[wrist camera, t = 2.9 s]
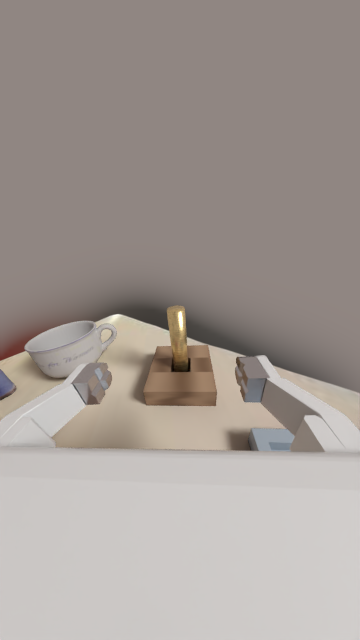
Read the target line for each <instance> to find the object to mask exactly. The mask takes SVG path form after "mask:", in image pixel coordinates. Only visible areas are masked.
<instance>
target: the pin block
mask: <svg viewBox="0 0 360 640" xmlns="http://www.w3.org/2000/svg"><path fill="white" fill-rule="evenodd" d="M187 354H188V370H191V372H174V364H173V356H172V348H171V346H158V347H157V348H156V352H155V355H154V358H153V361H152V364H151V368H150V371H149V374H148V377H147V380H146V384H145V387H144V390H143V394H144V397H145V401H146V404H147V405H177V406H216V396H217V390H216V385H215V380H214V374H213V369H212V364H211V359H210V353H209V348H208V345H199V346H187Z"/></svg>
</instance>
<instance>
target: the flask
mask: <svg viewBox="0 0 360 640" xmlns="http://www.w3.org/2000/svg"><path fill="white" fill-rule="evenodd" d="M13 389H15V390H16V386H15V385H14V383H12V382H11V381H10V380H9V378H8V377H7V376H6V375H5V374H4V372H3V371H2V370H1V369H0V400H2V399H4V398H5V397H8V396H9V395H12V393H14V392H15V390H13Z"/></svg>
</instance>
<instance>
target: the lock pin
mask: <svg viewBox="0 0 360 640" xmlns="http://www.w3.org/2000/svg"><path fill="white" fill-rule="evenodd" d="M167 315H168V323H169V331H170V340H171V348H172V356H173V364H174V372H189V370H188V354H187V337H186V323H185V322H186V321H185V308H184V307H182V306H172V307H169V308H168V309H167Z"/></svg>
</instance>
